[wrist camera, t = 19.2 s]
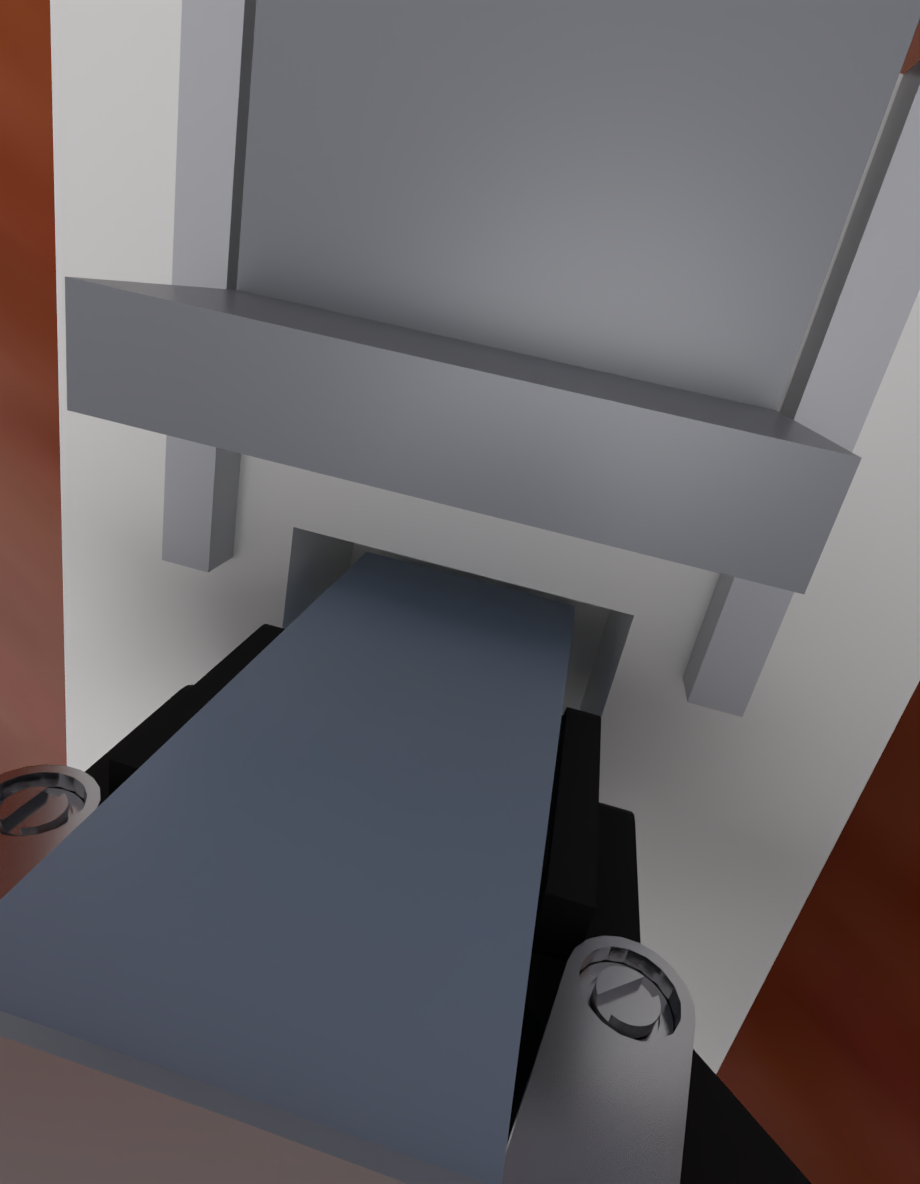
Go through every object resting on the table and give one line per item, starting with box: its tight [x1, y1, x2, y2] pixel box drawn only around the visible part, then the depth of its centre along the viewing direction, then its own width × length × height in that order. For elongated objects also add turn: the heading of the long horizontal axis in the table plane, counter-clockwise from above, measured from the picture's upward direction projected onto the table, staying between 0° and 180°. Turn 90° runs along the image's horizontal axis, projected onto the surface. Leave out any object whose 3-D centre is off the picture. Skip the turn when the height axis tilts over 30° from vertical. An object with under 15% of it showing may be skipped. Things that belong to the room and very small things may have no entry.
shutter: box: [65, 0, 920, 594], centre depth 7 cm, size 7×7×4 cm
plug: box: [0, 552, 576, 1184], centre depth 9 cm, size 4×4×12 cm
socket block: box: [50, 0, 920, 1074], centre depth 14 cm, size 20×14×5 cm
